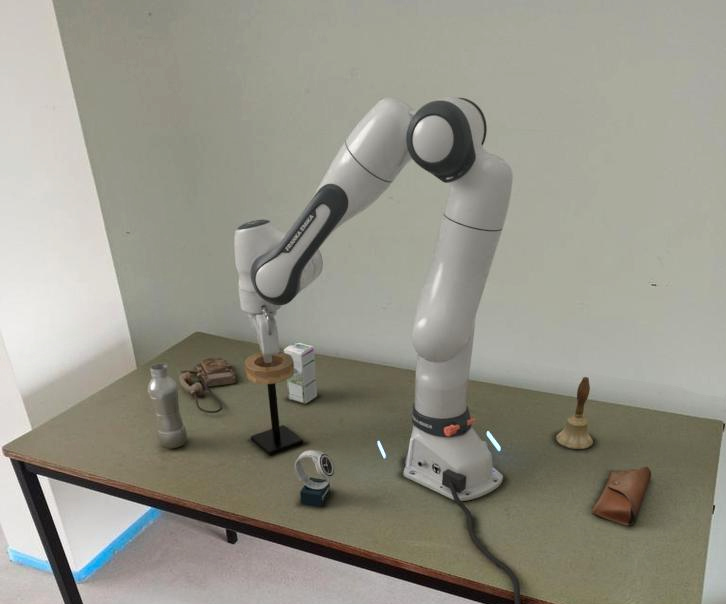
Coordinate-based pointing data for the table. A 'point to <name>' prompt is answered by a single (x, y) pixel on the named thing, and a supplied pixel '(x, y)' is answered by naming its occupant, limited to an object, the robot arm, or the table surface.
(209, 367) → the telephone
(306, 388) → the syrup box
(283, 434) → the stand
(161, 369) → the plastic bottle
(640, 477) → the sunglasses case
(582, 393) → the hand bell
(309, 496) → the watch
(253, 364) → the ring
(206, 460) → the table surface
